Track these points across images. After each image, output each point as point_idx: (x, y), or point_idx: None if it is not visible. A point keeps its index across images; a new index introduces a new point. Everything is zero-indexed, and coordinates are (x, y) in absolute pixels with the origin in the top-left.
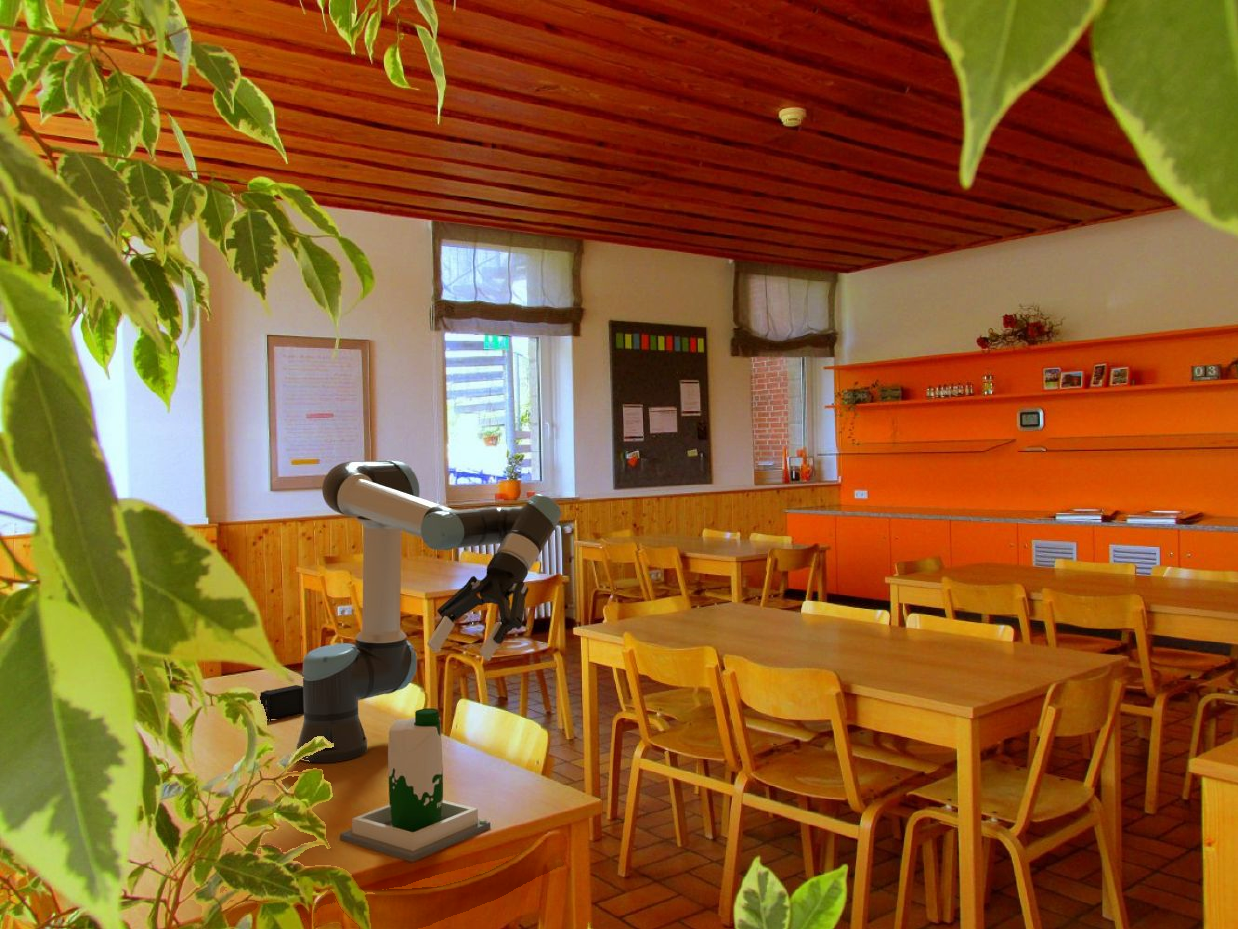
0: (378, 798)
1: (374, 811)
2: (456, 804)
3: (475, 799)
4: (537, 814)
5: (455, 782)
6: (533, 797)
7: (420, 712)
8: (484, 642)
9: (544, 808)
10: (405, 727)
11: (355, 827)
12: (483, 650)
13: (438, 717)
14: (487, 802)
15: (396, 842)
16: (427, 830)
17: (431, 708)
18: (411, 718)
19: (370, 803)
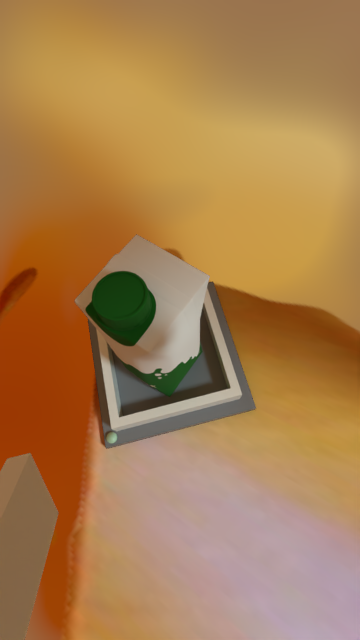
0: (344, 387)
1: (210, 313)
2: (153, 414)
3: (240, 510)
4: (99, 550)
5: (356, 540)
6: (176, 611)
7: (125, 281)
8: (5, 508)
9: (112, 583)
10: (124, 259)
11: None
12: (4, 473)
13: (102, 320)
14: (211, 518)
15: None
16: (97, 333)
17: (134, 313)
18: (185, 299)
19: (327, 368)
